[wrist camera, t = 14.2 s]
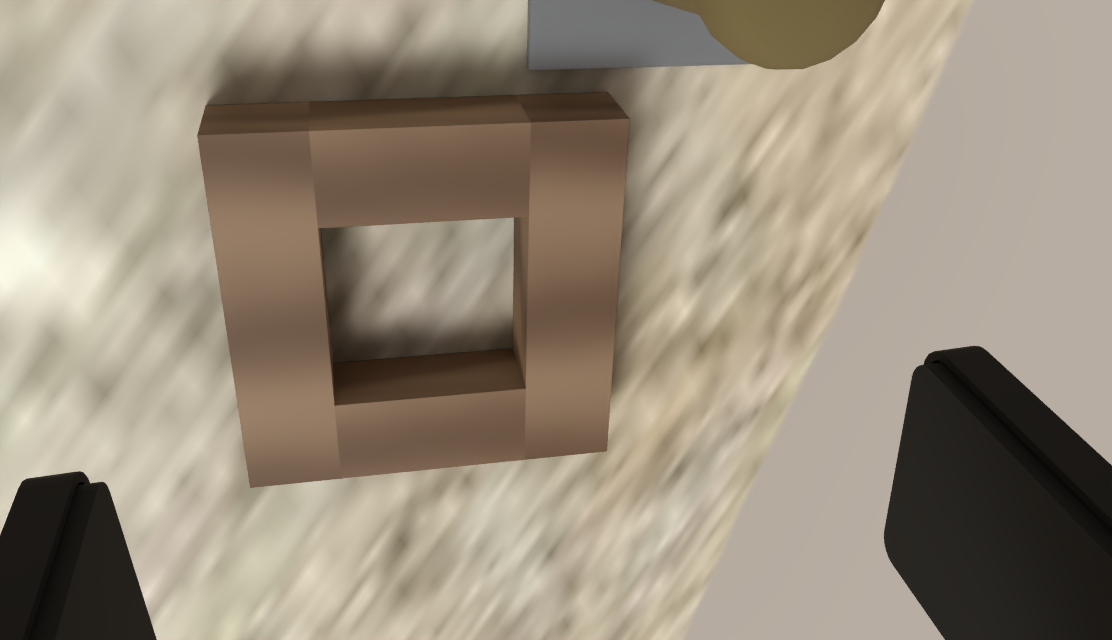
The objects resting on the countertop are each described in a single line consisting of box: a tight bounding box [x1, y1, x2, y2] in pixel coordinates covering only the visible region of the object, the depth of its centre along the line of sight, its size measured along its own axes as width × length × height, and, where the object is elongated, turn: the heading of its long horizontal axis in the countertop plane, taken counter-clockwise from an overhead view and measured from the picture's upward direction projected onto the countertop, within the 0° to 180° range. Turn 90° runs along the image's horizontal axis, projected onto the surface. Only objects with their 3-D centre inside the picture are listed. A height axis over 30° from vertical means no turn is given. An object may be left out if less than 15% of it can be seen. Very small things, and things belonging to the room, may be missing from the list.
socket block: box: [197, 92, 629, 488], centre depth 38 cm, size 14×14×3 cm
